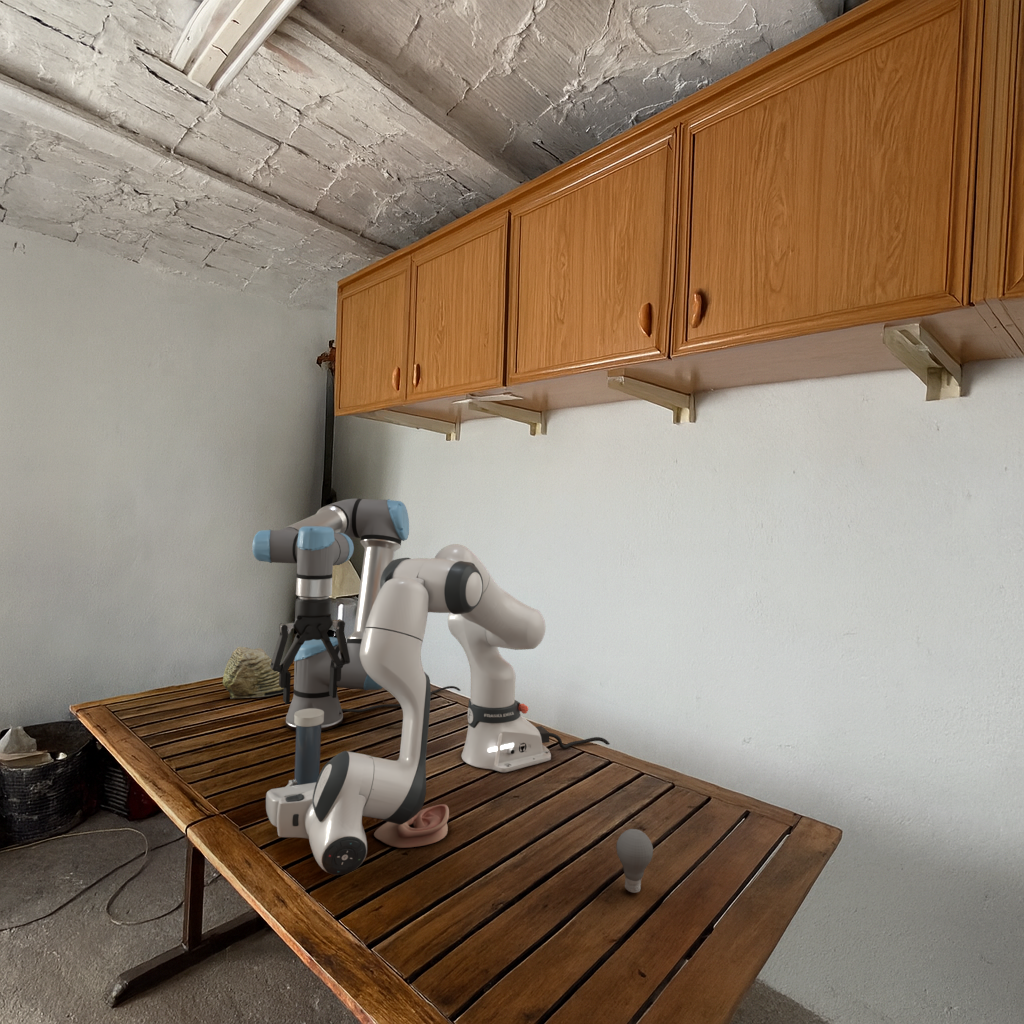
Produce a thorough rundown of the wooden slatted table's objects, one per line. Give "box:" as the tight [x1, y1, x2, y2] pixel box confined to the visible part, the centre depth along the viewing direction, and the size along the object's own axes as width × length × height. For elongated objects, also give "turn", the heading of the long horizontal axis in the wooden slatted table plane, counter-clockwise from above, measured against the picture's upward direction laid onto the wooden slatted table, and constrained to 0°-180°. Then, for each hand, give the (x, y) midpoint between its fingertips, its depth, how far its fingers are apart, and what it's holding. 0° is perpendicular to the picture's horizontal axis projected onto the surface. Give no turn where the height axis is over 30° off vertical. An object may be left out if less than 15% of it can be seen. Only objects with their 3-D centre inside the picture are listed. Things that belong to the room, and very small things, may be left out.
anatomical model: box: [373, 803, 450, 849], centre depth 121 cm, size 13×4×12 cm
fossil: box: [222, 646, 283, 699], centre depth 198 cm, size 9×18×15 cm, turn 132°
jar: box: [293, 724, 322, 785], centre depth 139 cm, size 5×5×15 cm
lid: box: [294, 708, 324, 727], centre depth 139 cm, size 6×6×2 cm
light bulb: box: [615, 828, 654, 894], centre depth 106 cm, size 6×6×10 cm
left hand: (309, 699), depth 139 cm, fingers open, 9 cm apart
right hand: (316, 779), depth 128 cm, fingers open, 8 cm apart
